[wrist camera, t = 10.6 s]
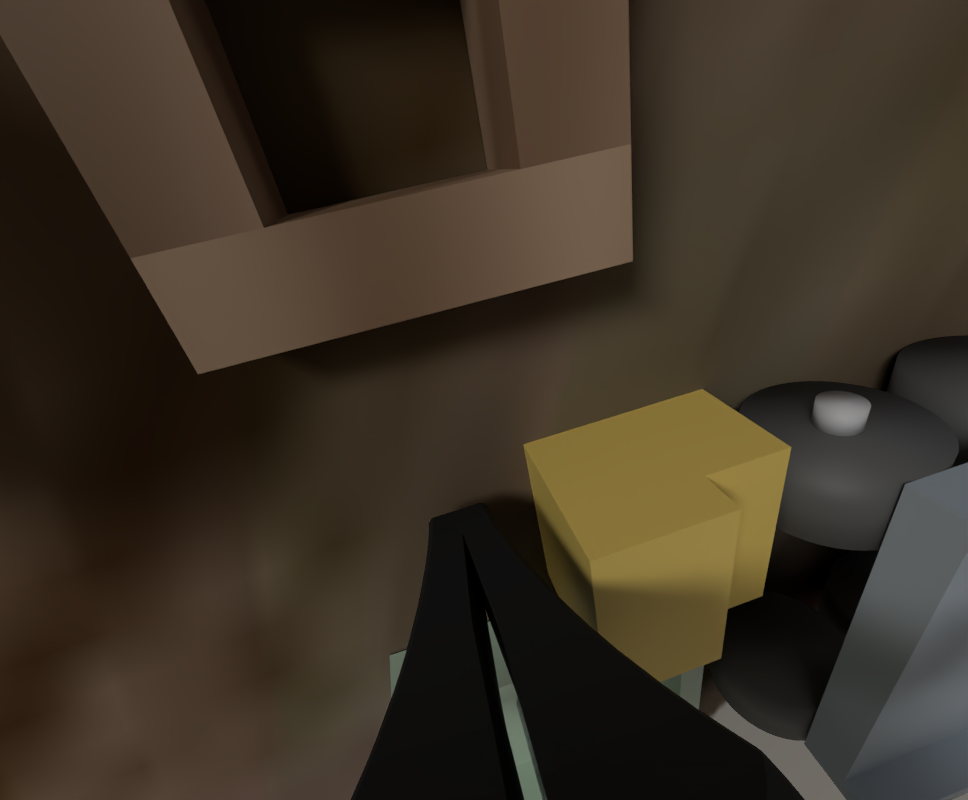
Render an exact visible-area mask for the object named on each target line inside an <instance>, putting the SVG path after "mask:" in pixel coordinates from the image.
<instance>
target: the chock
mask: <svg viewBox="0 0 968 800" xmlns="http://www.w3.org/2000/svg"><path fill="white" fill-rule="evenodd" d="M523 445H524V450H525V456H526V461H527V466H528V471H529V477H530V482H531V487H532V492H533V497H534V503H535V508H536V513H537V518H538V524H539V529H540V534H541V539H542V544H543V550H544V555H545V560H546V565H547V571H548V574H549V576H550V579H551V581H552V583H553V585H554V588H555V590H556V592H557V594H558V596H559V597H560V598H561V599H562V600H563V601H564V602H565V603H566V604H567V605H568V606H569V607H570V608H571V609H572V610H573V611H574V612H575V613H576V614H577V615H579V616H580V617H581V618H582V619H583V620H584V621H585V622H586V623H587V624H589V625H590V626H591V627H592V628H593V629H594V630H595V631H596V632H598V633H599V634H600V635H601V636H602V637H603V638H605V639H606V640H607V641H608V642H609V643H611V644H612V645H613V646H614V647H615V648H617V649H618V650H619V651H620V652H622V653H623V654H624V655H626V656H627V657H628V658H629V659H631V660H632V661H633V662H635V663H636V664H637V665H638V666H640V667H641V668H642V669H644V670H645V671H646V672H648V673H649V674H650V675H651V676H653V677H654V678H655V679H657V680H658V681H659V682H662V681H664V680H667V679H669V678H672V677H674V676H677V675H680V674H682V673H685V672H687V671H690V670H693V669H695V668H698V667H700V666H703V665H706V664H708V663H711V662H713V661H716V660H718V659H721V656H722V649H723V641H724V634H725V626H726V619H727V611H728V609H729V608H732V607H735V606H737V605H740V604H743V603H745V602H748V601H751V600H753V599H756V598H759V597H761V596H763V590H764V585H765V580H766V575H767V570H768V565H769V560H770V554H771V549H772V544H773V539H774V534H775V529H776V524H777V519H778V513H779V508H780V503H781V498H782V493H783V488H784V483H785V477H786V472H787V467H788V462H789V457H790V452H791V447H790V446H789V445H787V444H786V443H784V442H783V441H781V440H780V439H778V438H777V437H775V436H774V435H772V434H771V433H769V432H768V431H766V430H764V429H763V428H761V427H760V426H758V425H757V424H755V423H754V422H752V421H751V420H749V419H748V418H746V417H745V416H743V415H742V414H740V413H738V412H737V411H735V410H734V409H732V408H731V407H729V406H728V405H726V404H725V403H723V402H722V401H720V400H719V399H717V398H716V397H714V396H712V395H711V394H709V393H708V392H706V391H705V390H703V389H701V390H698V391H694V392H691V393H688V394H685V395H681V396H678V397H675V398H672V399H669V400H665V401H662V402H659V403H656V404H652V405H649V406H646V407H643V408H639V409H636V410H633V411H630V412H627V413H623V414H620V415H617V416H614V417H610V418H607V419H604V420H601V421H598V422H594V423H591V424H588V425H585V426H581V427H578V428H575V429H572V430H568V431H565V432H562V433H559V434H556V435H552V436H549V437H546V438H543V439H539V440H536V441H533V442H530V443H526V444H523Z"/></svg>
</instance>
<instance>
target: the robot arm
mask: <svg viewBox="0 0 968 800" xmlns="http://www.w3.org/2000/svg"><path fill="white" fill-rule="evenodd" d="M485 609H486V611H485ZM486 612H487V615H488V617H489V620H490V623H491V626H492V628H493V631H494V634H495V637H496V639H497V642H498V645H499V647H500V650H501V653H502V656H503V658H504V661H505V664H506V667H507V669H508V672H509V675H510V677H511V680H512V683H513V686H514V688H515V691H516V694H517V697H518V699H519V702H520V705H521V708H522V712H523V715H524V719H525V722H526V726H527V729H528V733H529V737H530V740H531V744H532V747H533V751H534V754H535V758H536V762H537V765H538V769H539V772H540V776H541V779H542V783H543V787H544V790H545V794H546V797H547V800H804V798H803V797H802V796H801V795H800V794H799V792H798V791H797V790H796V789H795V787H794V786H793V785H792V784H791V783H790V782H789V780H788V779H787V778H786V777H785V776H784V775H783V774H782V772H780V770H779V769H778V768H777V767H776V766H775V765H774V764H773V763H772V762H771V761H770V759H769V758H768V757H767V756H766V755H765V754H764V753H763V752H762V751H761V750H759V749H758V748H757V747H755V746H754V745H752V744H750V743H749V742H747V741H746V740H744V739H743V738H741V737H739V736H738V735H737V734H735V733H733V732H732V731H730V730H729V729H727V728H726V727H724V726H722V725H721V724H720V723H718V722H717V721H715V720H714V719H712V718H711V717H709V716H708V715H706V714H705V713H703V712H702V711H700V710H699V709H697V708H696V707H694V706H693V705H691V704H690V703H689V702H687V701H686V700H684V699H683V698H682V697H680V696H679V695H677V694H676V693H674V692H673V691H672V690H670V689H669V688H667V687H666V686H665V685H663V684H662V683H660V682H659V681H658V680H657V679H655V678H654V677H653V676H651V675H650V674H649V673H648V672H646V671H645V670H644V669H642V668H641V667H640V666H638V665H637V664H636V663H635V662H633V661H632V660H631V659H629V658H628V657H627V656H626V655H624V654H623V653H622V652H620V651H619V650H618V649H617V648H615V647H614V646H613V645H612V644H611V643H609V642H608V641H607V640H606V639H605V638H603V637H602V636H601V635H600V634H599V633H598V632H596V631H595V630H594V629H593V628H592V627H591V626H590V625H589V624H587V623H586V622H585V621H584V620H583V619H582V618H581V617H580V616H579V615H577V614H576V613H575V612H574V611H573V610H572V609H571V608H570V607H569V606H568V605H567V604H566V603H565V602H564V601H563V600H562V599H561V598H560V597H559V596H558V595H557V594H556V593H555V592H554V591H553V590H552V589H551V588H550V587H549V586H548V585H547V584H546V583H545V582H544V581H543V580H542V579H541V578H540V576H539V575H538V574H537V573H536V572H535V571H534V570H533V569H532V568H531V566H530V565H529V564H528V563H527V562H526V560H525V559H524V558H523V557H522V556H521V555H520V553H519V552H518V551H517V550H516V549H515V547H514V546H513V545H512V544H511V542H510V541H509V540H508V538H507V537H506V535H505V534H504V533H503V531H502V530H501V529H500V527H499V526H498V524H497V523H496V521H495V519H494V518H493V516H492V514H491V513H490V511H489V509H488V507H487V505H485V504H483V503H479V504H476V505H473V506H470V507H466V508H463V509H460V510H457V511H453V512H450V513H447V514H444V515H441V516H437V517H434V518H432V519H431V521H430V522H429V541H428V551H427V558H426V566H425V572H424V577H423V583H422V588H421V593H420V598H419V603H418V608H417V612H416V616H415V620H414V624H413V628H412V632H411V636H410V640H409V643H408V647H407V650H406V654H405V657H404V661H403V664H402V667H401V670H400V674H399V677H398V680H397V683H396V686H395V689H394V692H393V695H392V698H391V701H390V703H389V706H388V709H387V711H386V714H385V717H384V720H383V722H382V725H381V728H380V731H379V733H378V736H377V739H376V741H375V744H374V746H373V749H372V751H371V754H370V756H369V759H368V761H367V764H366V766H365V768H364V771H363V773H362V775H361V777H360V780H359V782H358V784H357V787H356V789H355V791H354V793H353V796H352V798H351V800H524V796H523V792H522V788H521V784H520V780H519V776H518V772H517V768H516V764H515V760H514V757H513V753H512V749H511V745H510V741H509V737H508V733H507V728H506V723H505V719H504V714H503V709H502V704H501V698H500V692H499V686H498V680H497V674H496V669H495V663H494V657H493V651H492V645H491V640H490V634H489V628H488V622H487V616H486Z"/></svg>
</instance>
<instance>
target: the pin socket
mask: <svg viewBox="0 0 968 800" xmlns="http://www.w3.org/2000/svg"><path fill="white" fill-rule="evenodd" d="M460 4H461V10H462V17H463V23H464V29H465V35H466V41H467V47H468V53H469V59H470V65H471V71H472V77H473V83H474V89H475V96H476V102H477V108H478V114H479V120H480V126H481V132H482V138H483V144H484V150H485V156H486V162H487V170H483V171H478V172H474V173H469V174H465V175H461V176H456V177H452V178H447V179H443V180H439V181H434V182H430V183H425V184H421V185H416V186H412V187H408V188H403V189H399V190H394V191H390V192H386V193H381V194H377V195H372V196H368V197H364V198H359V199H355V200H350V201H346V202H342V203H337V204H333V205H328V206H324V207H319V208H315V209H311V210H306V211H302V212H297V213H293V214H289V215H288V213H287V211H286V208H285V205H284V203H283V200H282V198H281V195H280V192H279V190H278V187H277V185H276V182H275V180H274V177H273V174H272V172H271V169H270V167H269V164H268V161H267V159H266V156H265V154H264V151H263V148H262V146H261V143H260V141H259V138H258V136H257V133H256V130H255V128H254V125H253V123H252V120H251V117H250V115H249V112H248V110H247V107H246V105H245V102H244V99H243V97H242V94H241V92H240V89H239V86H238V84H237V81H236V79H235V76H234V74H233V71H232V68H231V66H230V63H229V61H228V58H227V55H226V53H225V50H224V48H223V45H222V42H221V40H220V37H219V35H218V32H217V30H216V27H215V24H214V22H213V19H212V17H211V14H210V11H209V9H208V6H207V4H206V1H205V0H0V36H1V38H2V39H3V41H4V43H5V44H6V46H7V48H8V50H9V51H10V53H11V55H12V56H13V58H14V60H15V61H16V63H17V65H18V67H19V68H20V70H21V72H22V73H23V75H24V77H25V79H26V80H27V82H28V84H29V85H30V87H31V89H32V91H33V92H34V94H35V96H36V97H37V99H38V101H39V103H40V104H41V106H42V108H43V109H44V111H45V113H46V115H47V116H48V118H49V120H50V121H51V123H52V125H53V127H54V128H55V130H56V132H57V133H58V135H59V137H60V139H61V140H62V142H63V144H64V145H65V147H66V149H67V151H68V152H69V154H70V156H71V157H72V159H73V161H74V163H75V164H76V166H77V168H78V169H79V171H80V173H81V175H82V176H83V178H84V180H85V181H86V183H87V185H88V187H89V188H90V190H91V192H92V193H93V195H94V197H95V199H96V200H97V202H98V204H99V205H100V207H101V209H102V211H103V212H104V214H105V216H106V217H107V219H108V221H109V223H110V224H111V226H112V228H113V229H114V231H115V233H116V235H117V236H118V238H119V240H120V241H121V243H122V245H123V247H124V248H125V250H126V252H127V253H128V255H129V257H130V259H131V260H132V262H133V264H134V265H135V267H136V269H137V271H138V272H139V274H140V276H141V277H142V279H143V281H144V283H145V284H146V286H147V288H148V289H149V291H150V293H151V295H152V296H153V298H154V300H155V301H156V303H157V305H158V307H159V308H160V310H161V312H162V313H163V315H164V317H165V319H166V320H167V322H168V324H169V325H170V327H171V329H172V331H173V332H174V334H175V336H176V337H177V339H178V341H179V343H180V344H181V346H182V348H183V349H184V351H185V353H186V355H187V356H188V358H189V360H190V361H191V363H192V365H193V367H194V368H195V370H196V372H197V373H198V374H201V373H205V372H209V371H213V370H217V369H221V368H224V367H228V366H232V365H236V364H240V363H244V362H247V361H251V360H255V359H259V358H263V357H267V356H270V355H274V354H278V353H282V352H286V351H290V350H294V349H297V348H301V347H305V346H309V345H313V344H317V343H320V342H324V341H328V340H332V339H336V338H340V337H344V336H347V335H351V334H355V333H359V332H363V331H367V330H370V329H374V328H378V327H382V326H386V325H390V324H394V323H397V322H401V321H405V320H409V319H413V318H417V317H420V316H424V315H428V314H432V313H436V312H440V311H444V310H447V309H451V308H455V307H459V306H463V305H467V304H470V303H474V302H478V301H482V300H486V299H490V298H493V297H497V296H501V295H505V294H509V293H513V292H517V291H520V290H524V289H528V288H532V287H536V286H540V285H543V284H547V283H551V282H555V281H559V280H563V279H567V278H570V277H574V276H578V275H582V274H586V273H590V272H593V271H597V270H601V269H605V268H609V267H613V266H617V265H620V264H624V263H628V262H632V261H633V229H632V171H631V113H630V55H629V0H460Z"/></svg>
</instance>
